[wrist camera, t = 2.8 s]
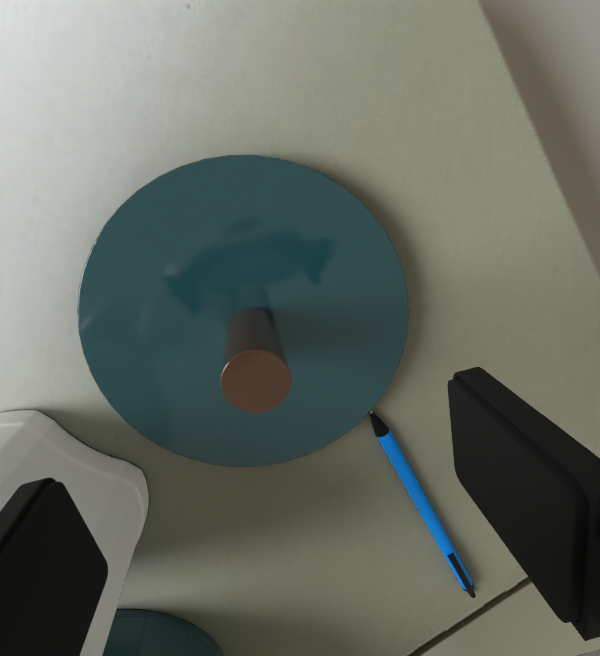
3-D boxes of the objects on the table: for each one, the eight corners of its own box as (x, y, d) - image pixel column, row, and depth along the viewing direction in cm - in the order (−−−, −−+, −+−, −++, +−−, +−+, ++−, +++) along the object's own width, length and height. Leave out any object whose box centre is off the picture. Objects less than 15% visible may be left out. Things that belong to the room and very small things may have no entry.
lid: (152, 484, 23) (118, 595, 17) (27, 201, 17) (-97, 206, 11) (415, 413, 24) (476, 493, 18) (378, 122, 18) (449, 85, 12)
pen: (464, 592, 30) (472, 606, 29) (361, 410, 23) (367, 420, 22) (475, 587, 30) (483, 601, 29) (374, 403, 23) (380, 413, 22)
